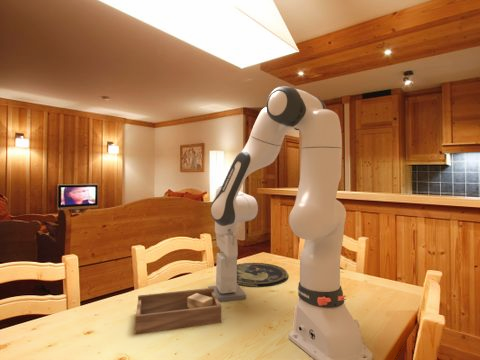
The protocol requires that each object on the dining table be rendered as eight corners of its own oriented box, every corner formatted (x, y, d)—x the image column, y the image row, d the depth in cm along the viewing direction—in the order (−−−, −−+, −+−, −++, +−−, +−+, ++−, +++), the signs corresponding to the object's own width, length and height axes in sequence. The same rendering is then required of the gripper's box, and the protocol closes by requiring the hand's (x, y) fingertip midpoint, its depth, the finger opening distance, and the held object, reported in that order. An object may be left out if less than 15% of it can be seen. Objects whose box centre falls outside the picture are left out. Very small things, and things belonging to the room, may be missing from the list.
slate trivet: (245, 298, 107) (245, 294, 107) (213, 302, 104) (213, 298, 104) (237, 287, 119) (237, 283, 119) (208, 290, 116) (208, 286, 116)
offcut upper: (212, 307, 95) (212, 297, 95) (203, 312, 91) (203, 302, 91) (196, 301, 99) (196, 293, 99) (187, 306, 95) (187, 297, 95)
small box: (236, 292, 108) (237, 257, 108) (220, 294, 107) (220, 258, 107) (231, 284, 116) (231, 252, 116) (215, 286, 114) (216, 253, 114)
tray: (221, 322, 90) (221, 302, 90) (135, 334, 83) (135, 313, 83) (213, 304, 102) (213, 287, 102) (138, 313, 96) (138, 295, 95)
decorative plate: (241, 259, 154) (296, 267, 140) (241, 263, 154) (296, 271, 140) (209, 277, 127) (274, 288, 114) (209, 281, 127) (274, 293, 114)
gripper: (242, 232, 102) (242, 271, 102) (228, 223, 122) (228, 256, 122) (224, 232, 100) (224, 272, 101) (213, 224, 120) (213, 257, 120)
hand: (226, 263), depth 111 cm, fingers closed on small box, 8 cm apart
